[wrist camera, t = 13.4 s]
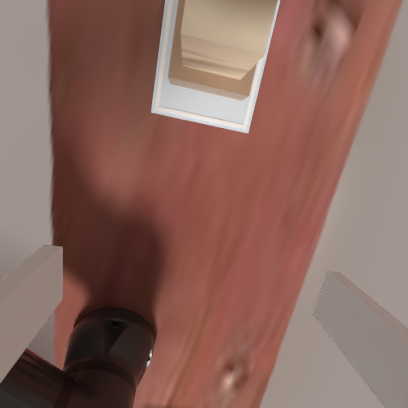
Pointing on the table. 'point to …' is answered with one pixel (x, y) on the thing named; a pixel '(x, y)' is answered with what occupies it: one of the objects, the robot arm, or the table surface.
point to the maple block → (225, 35)
